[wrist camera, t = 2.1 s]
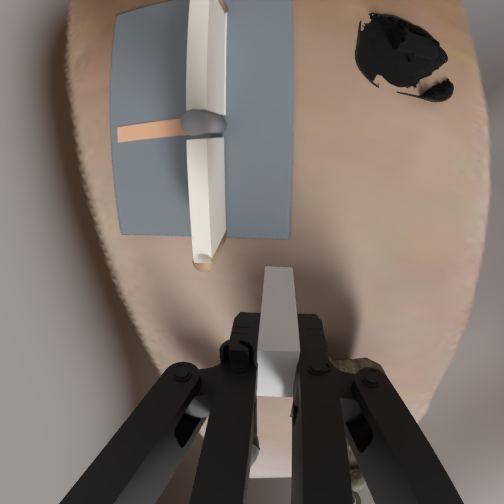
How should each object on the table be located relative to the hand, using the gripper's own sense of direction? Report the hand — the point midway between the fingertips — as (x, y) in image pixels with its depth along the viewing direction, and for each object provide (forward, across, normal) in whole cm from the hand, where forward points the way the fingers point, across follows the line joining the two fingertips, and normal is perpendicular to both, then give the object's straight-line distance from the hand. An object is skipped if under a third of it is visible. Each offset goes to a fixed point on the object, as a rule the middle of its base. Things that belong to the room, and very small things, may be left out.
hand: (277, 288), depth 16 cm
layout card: (+15, -9, +12) cm, 21 cm away
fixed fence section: (+15, -6, +16) cm, 23 cm away
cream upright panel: (+14, -6, +3) cm, 16 cm away
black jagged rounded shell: (+16, +14, +19) cm, 28 cm away
